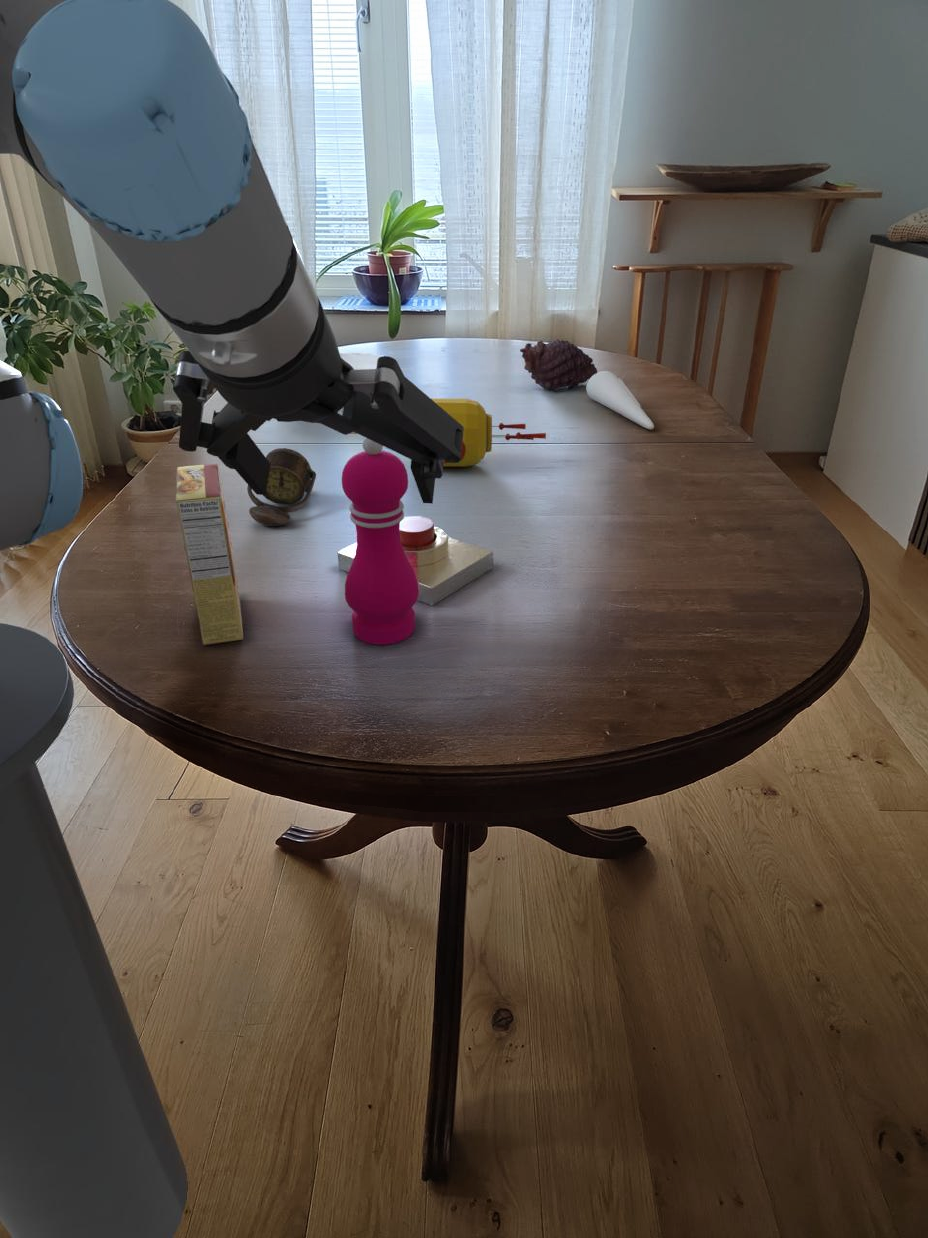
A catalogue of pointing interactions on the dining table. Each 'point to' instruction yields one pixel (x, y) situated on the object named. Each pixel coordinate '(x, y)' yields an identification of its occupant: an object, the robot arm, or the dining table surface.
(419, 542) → the button
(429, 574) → the control block
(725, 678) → the dining table surface
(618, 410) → the long cone
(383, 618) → the pepper mill
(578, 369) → the pine cone
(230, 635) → the candy box
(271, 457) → the brass desk clock
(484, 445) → the lantern
